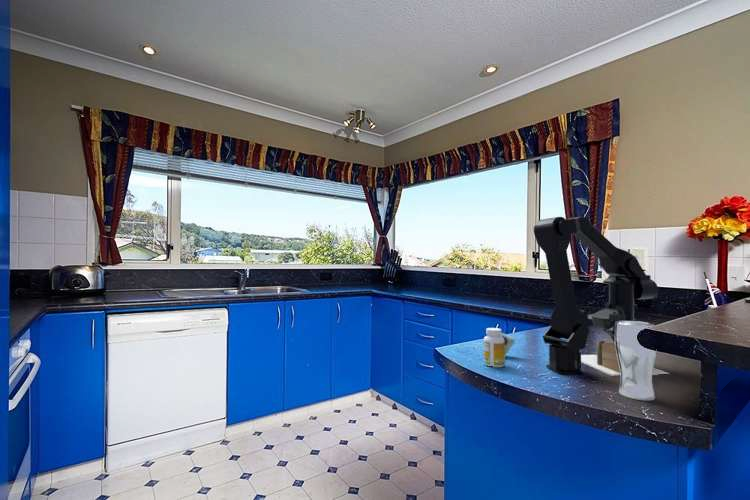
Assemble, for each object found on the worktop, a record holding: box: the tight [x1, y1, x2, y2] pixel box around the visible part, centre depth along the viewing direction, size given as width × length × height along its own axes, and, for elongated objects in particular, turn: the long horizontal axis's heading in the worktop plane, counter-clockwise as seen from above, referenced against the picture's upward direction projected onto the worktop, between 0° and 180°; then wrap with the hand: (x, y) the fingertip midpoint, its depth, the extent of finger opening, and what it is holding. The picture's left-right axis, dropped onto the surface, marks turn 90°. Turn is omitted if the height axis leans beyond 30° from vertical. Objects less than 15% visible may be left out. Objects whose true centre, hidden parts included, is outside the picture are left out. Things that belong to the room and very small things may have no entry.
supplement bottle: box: [483, 327, 506, 368], centre depth 96 cm, size 5×5×10 cm
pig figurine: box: [501, 332, 516, 356], centre depth 105 cm, size 8×4×7 cm, turn 82°
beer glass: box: [615, 320, 657, 402], centre depth 74 cm, size 7×7×15 cm
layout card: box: [581, 354, 670, 377], centre depth 95 cm, size 14×18×1 cm
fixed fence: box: [596, 340, 620, 373], centre depth 89 cm, size 2×11×7 cm, turn 3°
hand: (620, 356), depth 97 cm, fingers closed
